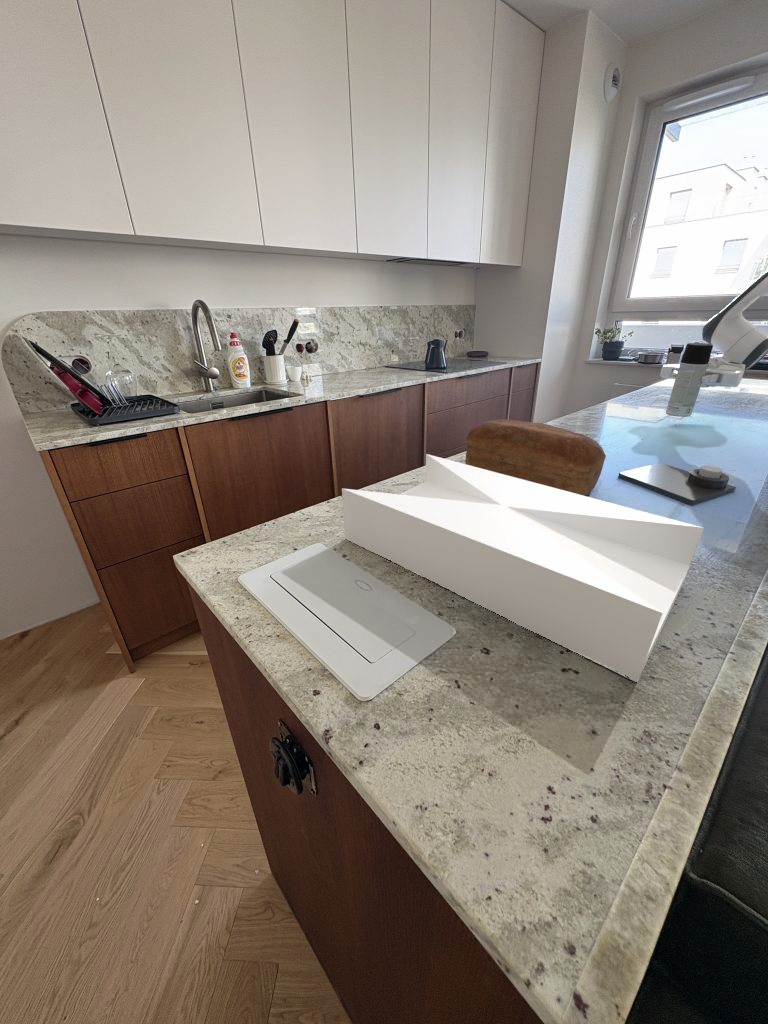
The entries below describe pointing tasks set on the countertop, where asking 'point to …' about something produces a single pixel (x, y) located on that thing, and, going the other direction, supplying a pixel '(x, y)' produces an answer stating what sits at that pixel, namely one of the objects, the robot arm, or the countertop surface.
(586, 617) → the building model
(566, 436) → the bread
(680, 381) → the spray can
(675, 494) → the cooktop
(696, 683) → the countertop surface
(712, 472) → the power button
